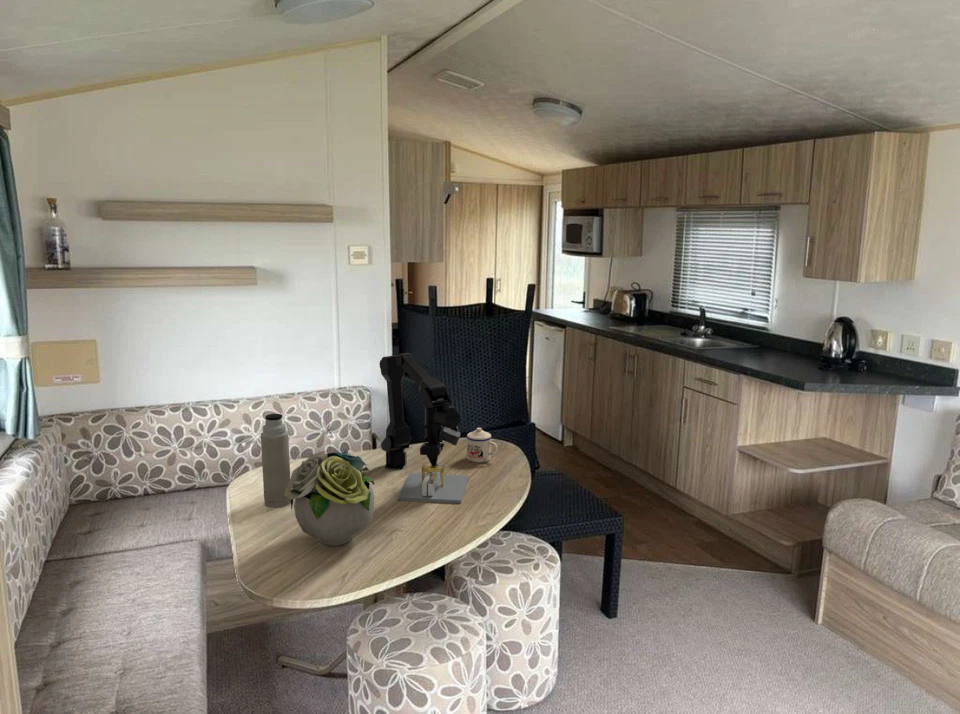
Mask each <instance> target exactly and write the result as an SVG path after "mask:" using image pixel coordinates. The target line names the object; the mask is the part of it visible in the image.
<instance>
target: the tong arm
mask: <svg viewBox="0 0 960 714" xmlns="http://www.w3.org/2000/svg"><path fill="white" fill-rule="evenodd" d="M439 480H440V472H433V474H432V476H431V478H430V480H429V483H428V496H433V494H434V492H435V490H436V487H437V485H438V482H439Z"/></svg>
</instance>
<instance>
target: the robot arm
mask: <svg viewBox="0 0 960 714" xmlns="http://www.w3.org/2000/svg"><path fill="white" fill-rule="evenodd" d="M378 365H379V368H380V372H381V373H380V374H381V376H382V377H383V379H384V380H385V381H386V390H387V403H388V416H389V423H388V426H387V428H386V429H385V437H384V438H383V440H382V442H381V443H380V446H381V450H382V451H383V452H385V466H384V469H399V470H400V469H401V470H402V469H404V468H405V466H406V465H407V460H408V459H407V455H408V454H407V452H406V449H409V448H410V446H411V445H410V444H411V441H412V434H411V427H410V426H408V424H407V423H406V422H405V416H404V402H403V391H402V378H403V377H404V375H405V373H407V375H408V376H409V377H410V378H411V379H412V380H413V382H414V383H415V384H416V385H417V387H418V394H419V395H420V396H421V398H422V399H423V402H421V406H423V407H424V426H423V430H424V434H425V435H424V437H423V441H424V442H423V443H422V445H421V446H420V448H419V455H421V456H426V457H427V460H428V461H429V463H430V465H431V466H436V464H437V463H438V460H439V459H438V458H439V456H440V455H441V452H442V451H443V449H444V447H445V443H444V442H446V443H449V444H450V445H452V446H457V445H458V442H459V439H460V437H461V434H462V433H461V431H459V427H458V425H459V424H460V421H461V415H460V414H459V411H456V407H455V406H454V405H453V402H452V398H451V397H450V395H449V392H448V390H447V388H446V385H445V384H444V383H443V382H442V381H441V380H439V379H438V378H436V377H433V376H431V375H430V374H428V372H426V370H425V369H424V368H423V367H422V365H420V363H419V362H418V361H417V360H416V359H415V357H414V355H413V354H412V353H410V352H405V353H399V354H395V355H385V356H382V357H381V359H380V361H379V364H378Z"/></svg>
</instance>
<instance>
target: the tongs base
mask: <svg viewBox="0 0 960 714" xmlns="http://www.w3.org/2000/svg"><path fill="white" fill-rule="evenodd" d="M436 466H442V463H439V462H437V464H436ZM432 474H433V472H426V473H425V478H424V480H423V482H422V472H421V473H419V472H418V473H417V472H410V473H409V475H408V477H407V478H406V480H405V482H404V484H403V486H402V488H401V489H400V492H399V493H398V495H397V501H404V502H405V501H406V502H422V503H423V502H424V503H425V502H426V503H431V502H432V503H446V504H447V503H448V504H449V503H450V504H451V503H452V504H462V502H463V499H464V494H465V493H466V491H465V490H466V488H467V485H468V482H469V475H468V474H467V475H465V474H445V473H444V486H441V472H440V480H439V482H438V485H437V487H436V490H435V492H434V494H433V496H428V483H429V480H430V478H431V476H432Z"/></svg>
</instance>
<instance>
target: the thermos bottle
mask: <svg viewBox="0 0 960 714" xmlns="http://www.w3.org/2000/svg"><path fill="white" fill-rule="evenodd" d="M264 417H265V424H264V425H263V426H262V432H261V433H260V446H261V465H262V481H263V483H262V484H263V485H262V486H263V498H264V506H265V507H267V508H269V509H279V508H284V507H287V506H289V505H291V502H290V498H289V497H286V496H284V494H285V490H286V488H287V486H288V484H289V481H290V479H291V465H290V464H291V463H290V446H289V445H290V444H289V443H290V442H289V431H287V430H286V429H287V427H286V424H285V423H283V414H281V413H268V414H266V415H265V416H264Z"/></svg>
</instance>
